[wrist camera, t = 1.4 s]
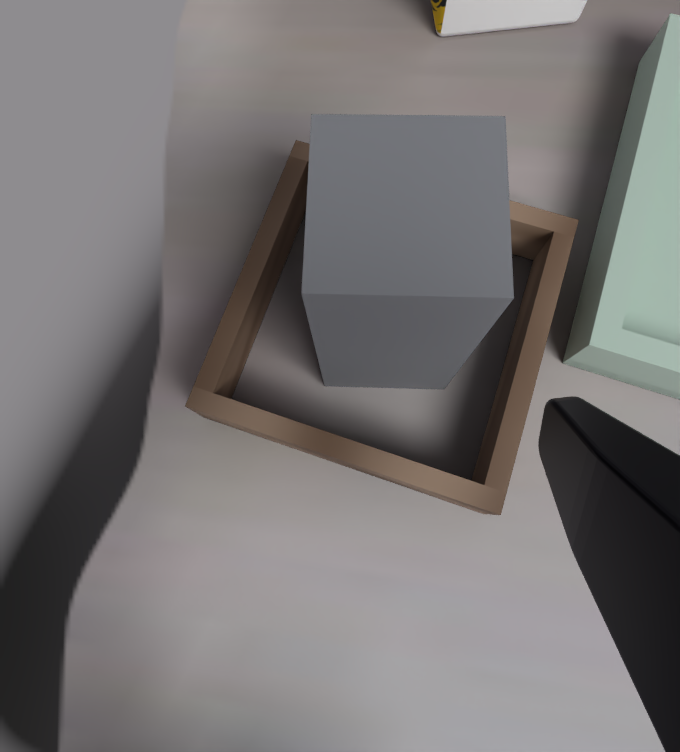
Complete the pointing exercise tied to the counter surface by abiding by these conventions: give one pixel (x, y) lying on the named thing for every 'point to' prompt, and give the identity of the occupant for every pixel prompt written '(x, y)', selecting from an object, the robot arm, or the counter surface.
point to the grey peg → (404, 245)
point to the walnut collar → (482, 494)
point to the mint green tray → (638, 239)
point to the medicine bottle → (501, 14)
